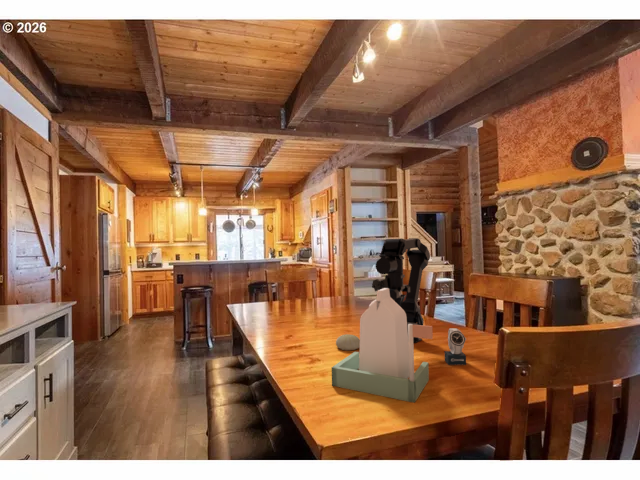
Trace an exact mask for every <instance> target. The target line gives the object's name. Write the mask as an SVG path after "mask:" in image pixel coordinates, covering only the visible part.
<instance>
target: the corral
mask: <svg viewBox="0 0 640 480" xmlns="http://www.w3.org/2000/svg"><path fill="white" fill-rule="evenodd" d="M433 335H434V334H433V325H431V326H430V325H424V324H423V325H413V324H408V344H409V378H408V379H406V378H400V377H395V376H389V375H383V374H378V373H372V372H366V371H360V370H359V351H354V352H352V353H350V355H348V356H346V357H345V358H344V359H342V360H340V361H338V362H337V363H336V364H334V365H333V366H332V367H331V386H333V387H337V388H342V389H346V390H352V391H356V392H357V391H358V392H361V393H366V394H371V395H375V396H381V397H386V398H389V399H390V398H391V399H395V400H398V401H399V400H400V401H405V402H409V403H416V401H417V399H418V398H419V397H420V394H422V392H423V390H424V389H425V387H426V385H427V384H428V382H429V380H430V374H429V372H430V371H429V367H430V366H429V362H428V361H422V363H421V364H420V365H419V367H418V368H416V370H415V355H414V353H415V352H414V343H413V337H418V338H422V339H428V340H433V337H434V336H433Z"/></svg>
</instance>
